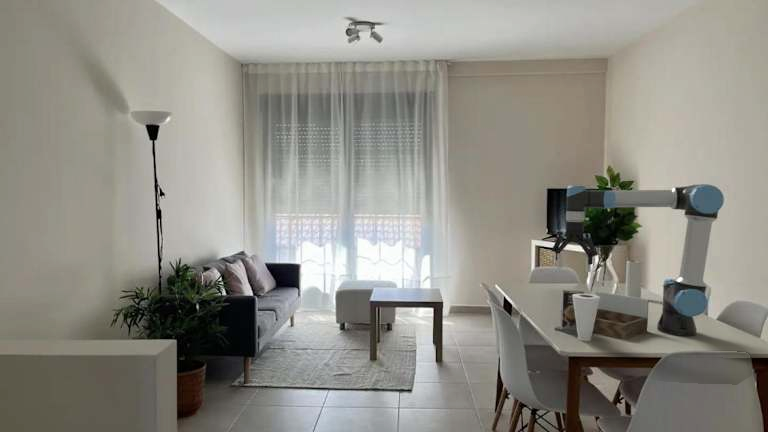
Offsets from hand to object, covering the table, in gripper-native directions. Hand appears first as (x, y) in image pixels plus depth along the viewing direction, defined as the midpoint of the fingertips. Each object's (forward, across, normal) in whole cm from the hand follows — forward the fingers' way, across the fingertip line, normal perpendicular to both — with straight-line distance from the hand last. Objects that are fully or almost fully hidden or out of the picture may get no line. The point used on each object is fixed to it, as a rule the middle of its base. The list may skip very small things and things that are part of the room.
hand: (573, 270), depth 233 cm
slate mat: (+27, 0, 0) cm, 27 cm away
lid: (+21, -9, -26) cm, 34 cm away
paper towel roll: (+27, +19, -97) cm, 102 cm away
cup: (+27, -11, +9) cm, 30 cm away
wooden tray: (+27, -9, -16) cm, 32 cm away
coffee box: (+26, 0, 0) cm, 26 cm away
